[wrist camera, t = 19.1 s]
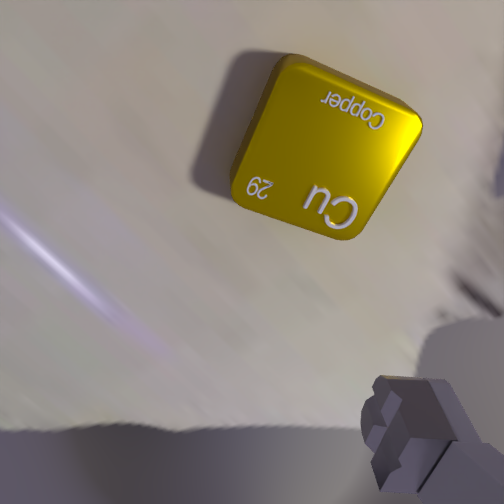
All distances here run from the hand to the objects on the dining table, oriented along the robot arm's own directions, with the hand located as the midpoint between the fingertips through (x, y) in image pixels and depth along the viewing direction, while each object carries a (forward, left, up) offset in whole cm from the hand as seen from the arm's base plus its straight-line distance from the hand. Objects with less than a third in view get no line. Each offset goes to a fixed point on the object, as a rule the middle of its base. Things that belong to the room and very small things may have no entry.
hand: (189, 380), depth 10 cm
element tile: (+13, -8, -40) cm, 42 cm away
